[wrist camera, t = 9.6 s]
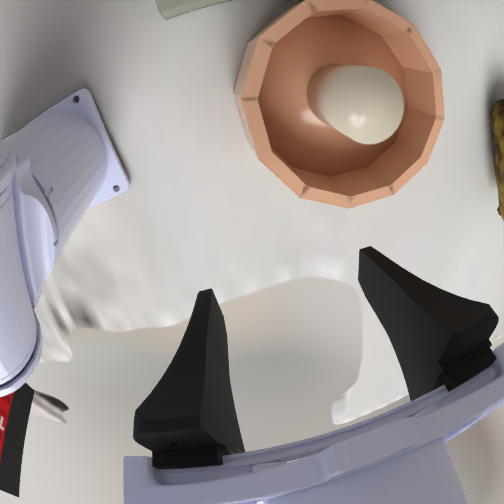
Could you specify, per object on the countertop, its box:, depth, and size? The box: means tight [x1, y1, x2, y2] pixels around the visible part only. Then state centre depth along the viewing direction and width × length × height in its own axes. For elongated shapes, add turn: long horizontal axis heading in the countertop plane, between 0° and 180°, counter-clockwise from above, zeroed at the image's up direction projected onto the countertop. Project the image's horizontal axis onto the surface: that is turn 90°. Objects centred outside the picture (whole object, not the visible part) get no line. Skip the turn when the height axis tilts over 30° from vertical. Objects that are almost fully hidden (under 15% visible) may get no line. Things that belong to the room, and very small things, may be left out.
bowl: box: [233, 0, 444, 208], centre depth 16 cm, size 13×13×4 cm
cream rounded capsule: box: [306, 64, 404, 144], centre depth 15 cm, size 4×4×4 cm
